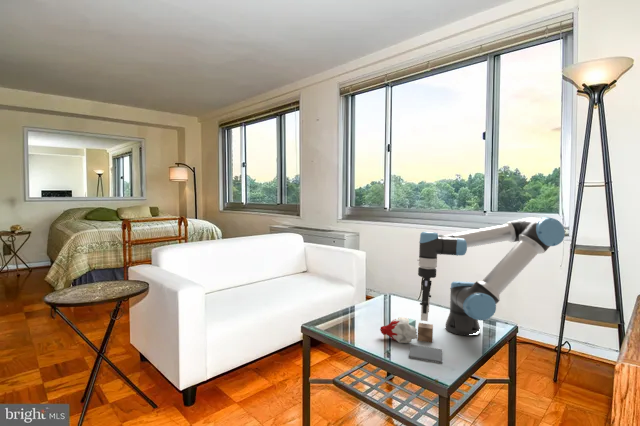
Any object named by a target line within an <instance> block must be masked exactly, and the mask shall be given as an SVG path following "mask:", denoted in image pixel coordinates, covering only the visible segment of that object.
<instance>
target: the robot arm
mask: <svg viewBox="0 0 640 426" xmlns="http://www.w3.org/2000/svg"><path fill="white" fill-rule="evenodd" d="M565 237H566V231H565V227H564V225H563V224H562V222H561V221H560V220H558V219H556V218H553V217H549V216H544V217H543V216H542V217H539V216H538V217H537V216H529V217H524V218H520V219H516V220H510V221H506V222H505V223H504V224H501V225H495V226H490V227H484V228H479V229H472V230H467V231H466V230H465V231H460V232H455V233H449V234H438V232H432V231H422V232H421V233H420V235H419V242H418V243H419V251H418V252H419V255H418V258H417V262H418V266H419V267H418V270H417V275H418V277H421V278H423V279H422V280H421V291H422V295H421V302H419V305H420V306H421V307H420V308H421V310H420V321H422V322H423V321H424V322H428V320H429V313H430V299H431V298H432V295H431V293H430V292H431V288H432V280H431V279H432V278H433V279H434V278H437V269H436V268H437V267H438V255H446V256H456V257H457V256H465V255H466V254H467V252H468V251H467V250H468V248H472V247H477V246H483V245H484V246H485V245H491V244H497V243H503V242H510V243H514V242H516V244H515V245H514V246H513V247H512V248H511V249H510V250H509V251H508V252H507V253H506V254H505V256H503V257H502V259H501V260H499V262H498V263H497V264H496V265H495V267H493V268H492V270H491V271H490V272H489V273H488V274H487V275H486V276H485V277H484V278H483V279H482V280H477V281H475V282H473V281H458V280H457V281H455V280H454V281H452V282H451V283H450V288H449V289H450V294H449V296H450V299H449V300H450V301H449V314H448V317H447V319H446V322H445V327H446V328H445V329H446V331H448V332H449V333H451V334H454V335H458V334H459V336H463V335H469V334H473V333H476V332H477V331H479V329H480V330H481V327H480V323H479V321H486V320H488V319H490V318H492V317H493V316H494V315H495V313H496V311H497V304H498V303H499V302H500V301H501V300H500V298H501V297H500V295H501V294H502V293H503V292H504V290H506V288H507V287H508V286H510V284H511V283H512V282H513V281H514V280H515V279H516V278H517V277H518V275H520V273H521V272H522V271H523V270H524V269H525V268H526V267H527V266H528V265H529V264H530V263H531V262H532V260H534V258H535V257H536V256H537V255H539V254H545V253H546V252H547V250H548V249H550V247H555V246H558V245H560V244H561V243H562V242H563V241H564V239H565Z"/></svg>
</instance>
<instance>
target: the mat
mask: <svg viewBox="0 0 640 426" xmlns="http://www.w3.org/2000/svg"><path fill="white" fill-rule="evenodd" d="M408 359H413V360H418V361H425V362H432V363H435V364H441V365H442V364H443V349H442V348H437V347H430V346H423V345H416V344H411V345H410V348H409V352H408Z"/></svg>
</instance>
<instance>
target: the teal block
mask: <svg viewBox="0 0 640 426" xmlns="http://www.w3.org/2000/svg"><path fill="white" fill-rule="evenodd" d="M408 319H409V325H411V326H413V327H415V328H417V327H416V319H412V318H408Z"/></svg>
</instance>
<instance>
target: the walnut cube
mask: <svg viewBox="0 0 640 426" xmlns="http://www.w3.org/2000/svg"><path fill="white" fill-rule="evenodd" d="M433 332H434V324H431V323H426V322H424V323H423V322H418V325H417V341H418V342H419V341H420V342H424V343H425V342H426V343H431V344H432V343H433V337H434V336H433V335H434V333H433Z"/></svg>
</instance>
